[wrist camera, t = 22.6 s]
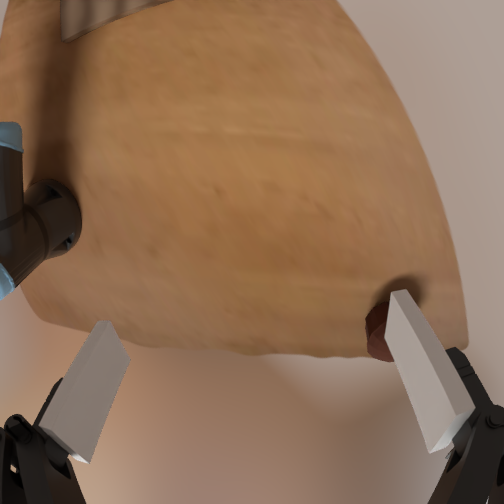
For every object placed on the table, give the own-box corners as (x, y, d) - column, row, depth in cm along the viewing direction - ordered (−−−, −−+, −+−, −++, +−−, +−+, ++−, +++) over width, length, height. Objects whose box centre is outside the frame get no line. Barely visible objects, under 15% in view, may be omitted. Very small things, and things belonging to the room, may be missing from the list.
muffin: (348, 331, 57) (359, 366, 48) (378, 289, 53) (396, 322, 44) (389, 343, 59) (403, 375, 50) (418, 305, 54) (438, 336, 45)
